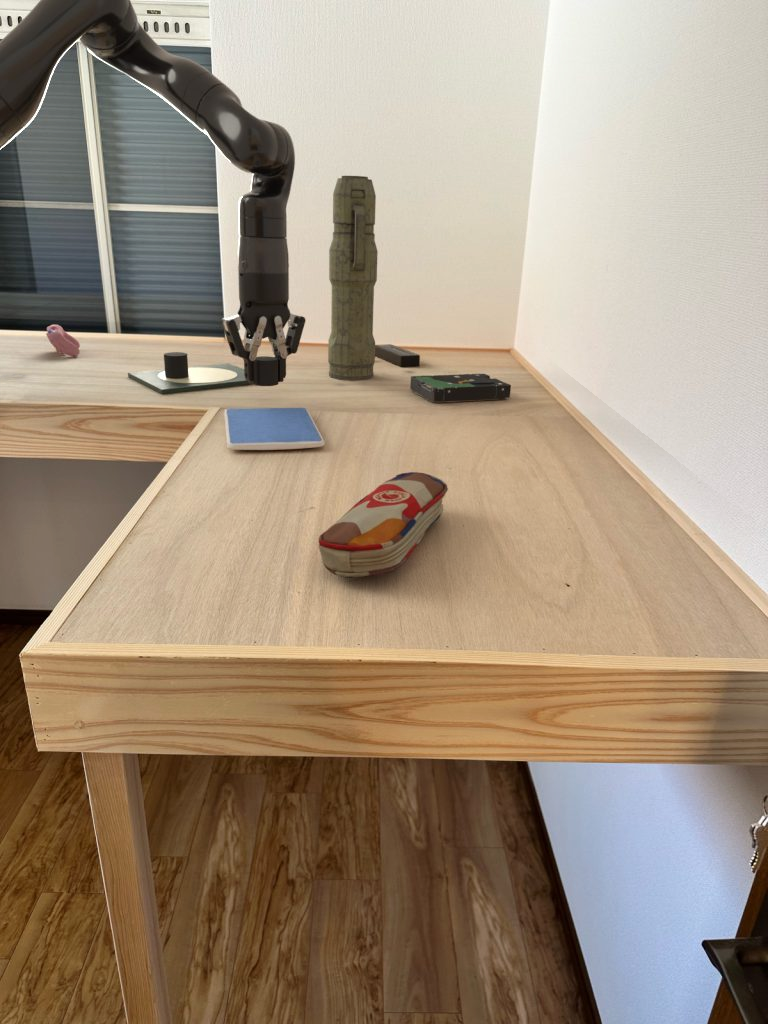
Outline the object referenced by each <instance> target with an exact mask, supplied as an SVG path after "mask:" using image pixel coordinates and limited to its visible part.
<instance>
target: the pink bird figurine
mask: <svg viewBox="0 0 768 1024" xmlns="http://www.w3.org/2000/svg"><path fill="white" fill-rule="evenodd" d="M46 331H47V332H46V333H45V335H46V337H47V339H48V341H49V343H50V344H51V345H52V346H53V347H54V349H55V351H56V352H57V353H59V354H60V355H63V354H65V355H67V356H71V357H78V356H79V355H80V346H81V344H80V341H78V339H76V337H74V336H72V335H71V334H69V333H68V332H66V331H65V330H64V328H63V327H62V326H61V325H59V324H51V325H49V326H47V327H46Z"/></svg>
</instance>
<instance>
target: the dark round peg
mask: <svg viewBox="0 0 768 1024" xmlns="http://www.w3.org/2000/svg"><path fill="white" fill-rule="evenodd" d="M163 363H164V364H163V365H164V369H165V377H166V378H170V379H182V378H187V377H188V376H189V374H188V367H189V359H188V353H186V352H182V351H181V352H179V351H173V352H171V351H170V352H165V353H163Z"/></svg>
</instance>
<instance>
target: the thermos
mask: <svg viewBox="0 0 768 1024" xmlns="http://www.w3.org/2000/svg"><path fill="white" fill-rule="evenodd" d="M374 187H375V186H374V184H373V180H372V179H370V178H369V177H368V176H363V175H341V177H338V178H337V180H336V182H335V186H334V189H333V193H332V224H333V232H332V240H331V243H330V246H329V251H328V253H329V254H328V255H329V256H328V258H329V259H328V271H329V272H328V280H329V282H330V285H331V316H330V317H331V318H330V319H331V324H330V325H331V326H330V328H331V331H330V335H329V338H328V343H327V344H328V345H327V346H328V349H327V350H328V351H327V352H328V354H327V361H328V364H329V371H328V376H329V377H330V378H333V379H337V380H343V381H364V380H370V379H373V378H374V375H375V373H374V366H375V363H376V356H375V345H376V341H375V337H374V335H373V333H374V300H375V297H374V296H375V285H376V283H377V280H378V255H379V254H378V248H377V245H376V240H375V237H376V235H375V234H376V233H375V225H376V203H377V201H376V199H377V197H376V196H377V195H376V191H375V188H374Z"/></svg>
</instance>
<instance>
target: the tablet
mask: <svg viewBox="0 0 768 1024" xmlns="http://www.w3.org/2000/svg"><path fill="white" fill-rule="evenodd" d="M223 416H224V427H225V439H226V447H227V448H228V449H229V450H233V451H235V450H236V451H274V450H275V451H277V450H298V449H299V450H300V449H313V448H320V447H323V446H325V445H326V442H325V439H324V438H323V436H322V434H321V432H320V430H319V428H318V426H317V424H316V423H315V421H314V418H313V417H312V415H311V413H310V411H309V409H308V408H306V407H260V408H259V407H255V408H254V407H253V408H252V407H250V408H249V407H248V408H226V409H225V410H224V411H223Z"/></svg>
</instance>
